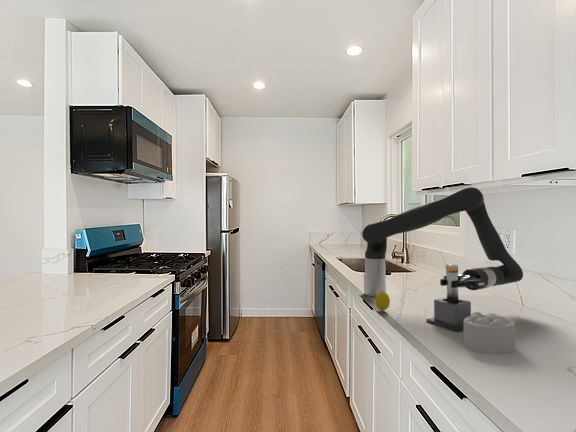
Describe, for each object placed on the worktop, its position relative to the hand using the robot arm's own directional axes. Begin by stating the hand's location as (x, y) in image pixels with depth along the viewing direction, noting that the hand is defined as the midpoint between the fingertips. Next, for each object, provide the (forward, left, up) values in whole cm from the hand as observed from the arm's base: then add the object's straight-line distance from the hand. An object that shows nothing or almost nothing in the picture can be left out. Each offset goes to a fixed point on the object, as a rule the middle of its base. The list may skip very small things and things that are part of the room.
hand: (446, 283), depth 113 cm
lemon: (-23, -7, -14) cm, 28 cm away
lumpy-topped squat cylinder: (+17, -5, -14) cm, 23 cm away
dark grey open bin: (0, +3, -14) cm, 14 cm away
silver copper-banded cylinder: (0, +3, -8) cm, 8 cm away
